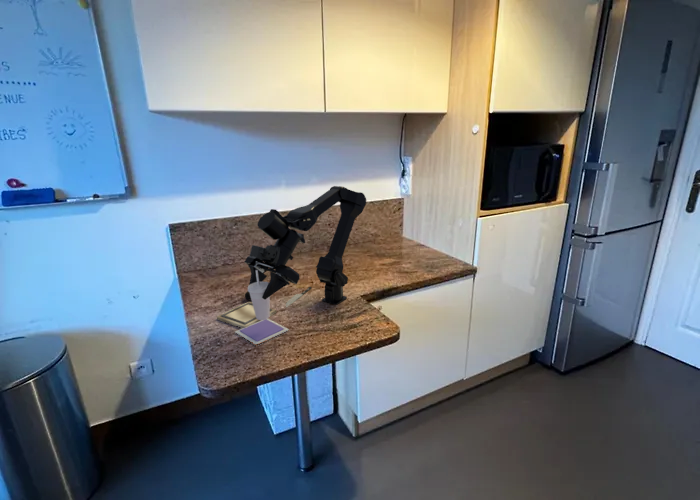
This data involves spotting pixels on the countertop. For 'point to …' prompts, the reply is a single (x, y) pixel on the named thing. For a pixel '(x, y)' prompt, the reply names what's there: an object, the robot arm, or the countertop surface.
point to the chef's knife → (296, 297)
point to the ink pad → (261, 331)
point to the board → (242, 315)
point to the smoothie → (259, 299)
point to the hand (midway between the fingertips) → (256, 295)
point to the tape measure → (247, 296)
